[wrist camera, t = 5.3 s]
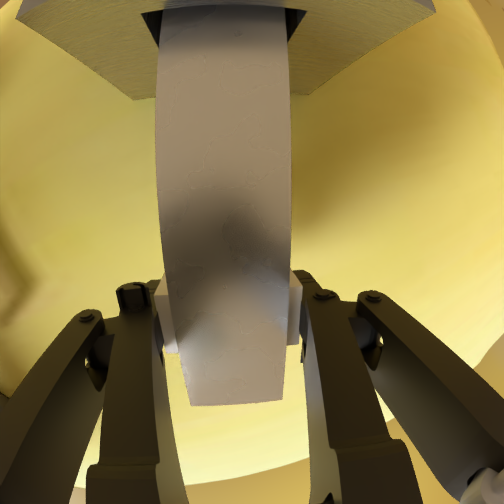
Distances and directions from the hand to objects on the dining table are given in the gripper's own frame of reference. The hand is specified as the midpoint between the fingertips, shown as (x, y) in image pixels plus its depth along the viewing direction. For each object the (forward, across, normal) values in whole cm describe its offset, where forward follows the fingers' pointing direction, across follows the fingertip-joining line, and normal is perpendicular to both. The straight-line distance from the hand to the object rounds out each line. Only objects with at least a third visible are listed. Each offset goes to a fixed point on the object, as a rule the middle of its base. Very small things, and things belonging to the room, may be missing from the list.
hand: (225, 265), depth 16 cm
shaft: (-3, 0, -9) cm, 10 cm away
